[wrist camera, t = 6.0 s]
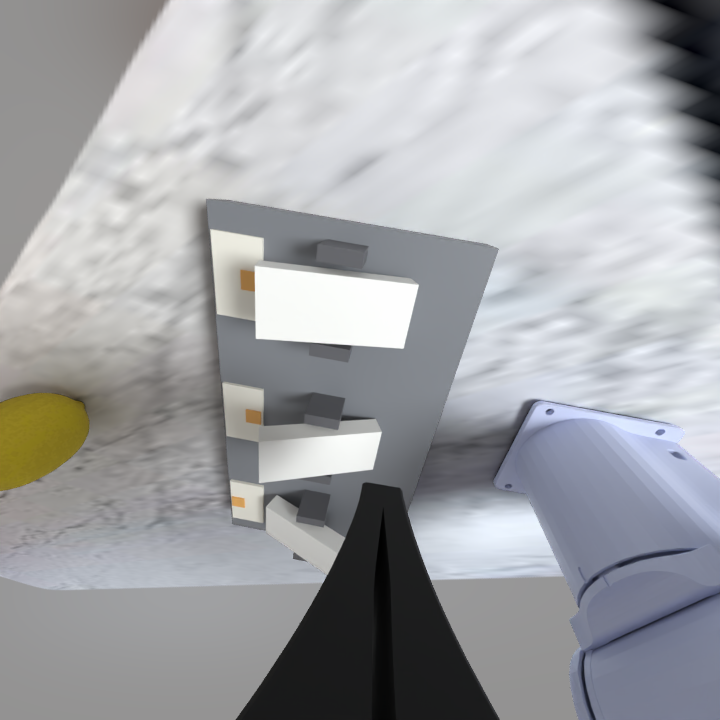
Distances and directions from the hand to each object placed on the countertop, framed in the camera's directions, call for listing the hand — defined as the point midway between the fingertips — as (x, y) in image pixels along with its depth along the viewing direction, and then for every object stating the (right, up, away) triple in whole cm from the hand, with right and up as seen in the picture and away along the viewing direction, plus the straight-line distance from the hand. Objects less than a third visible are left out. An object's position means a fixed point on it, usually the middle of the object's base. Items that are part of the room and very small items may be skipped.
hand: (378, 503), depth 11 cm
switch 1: (-2, +8, +3) cm, 9 cm away
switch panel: (-3, +2, +11) cm, 11 cm away
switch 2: (-4, -8, +12) cm, 15 cm away
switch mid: (-3, 0, +7) cm, 8 cm away
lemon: (-23, +2, +13) cm, 27 cm away
